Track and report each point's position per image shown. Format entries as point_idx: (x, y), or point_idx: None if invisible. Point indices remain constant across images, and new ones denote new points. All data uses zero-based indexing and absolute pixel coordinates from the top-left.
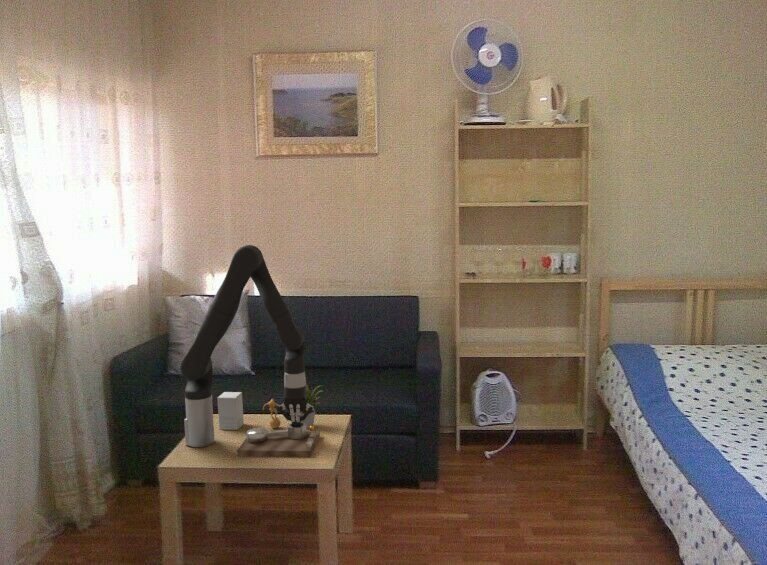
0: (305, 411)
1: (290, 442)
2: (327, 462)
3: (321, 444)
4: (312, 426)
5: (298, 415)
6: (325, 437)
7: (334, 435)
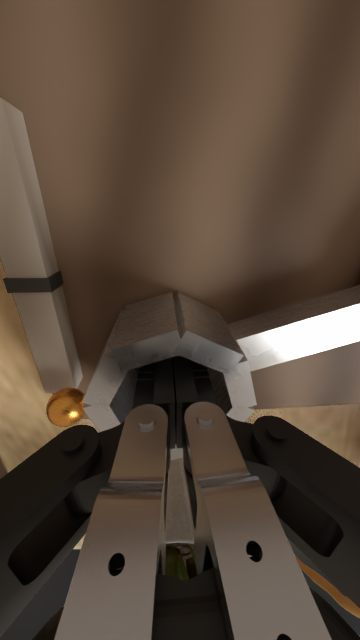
0: (167, 561)
1: (192, 236)
2: None
3: (12, 301)
4: (52, 414)
5: (118, 497)
6: (38, 390)
7: (4, 414)
